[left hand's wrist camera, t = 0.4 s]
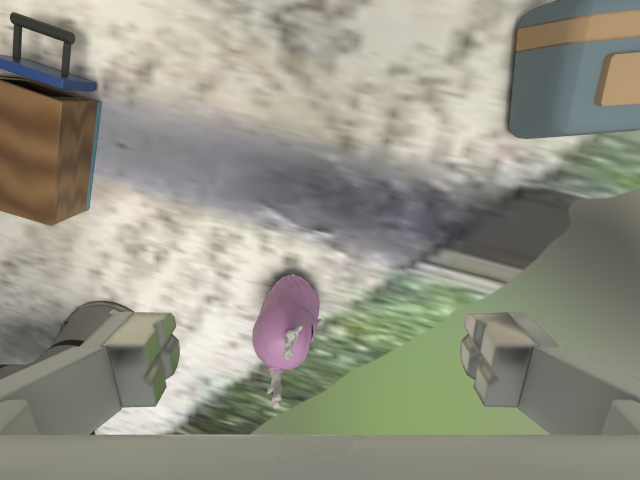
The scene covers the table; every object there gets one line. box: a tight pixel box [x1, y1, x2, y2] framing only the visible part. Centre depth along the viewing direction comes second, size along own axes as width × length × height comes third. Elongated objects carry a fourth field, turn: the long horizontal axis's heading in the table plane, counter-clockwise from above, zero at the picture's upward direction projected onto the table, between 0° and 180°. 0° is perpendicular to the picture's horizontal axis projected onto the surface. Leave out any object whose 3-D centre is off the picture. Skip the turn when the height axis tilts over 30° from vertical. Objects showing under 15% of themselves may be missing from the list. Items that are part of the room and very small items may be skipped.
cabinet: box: [0, 74, 102, 226], centre depth 50 cm, size 17×11×9 cm, turn 161°
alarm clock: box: [509, 0, 640, 139], centre depth 43 cm, size 16×16×16 cm
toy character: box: [252, 274, 321, 409], centre depth 54 cm, size 12×10×20 cm
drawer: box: [0, 12, 95, 100], centre depth 49 cm, size 21×10×7 cm, turn 161°
